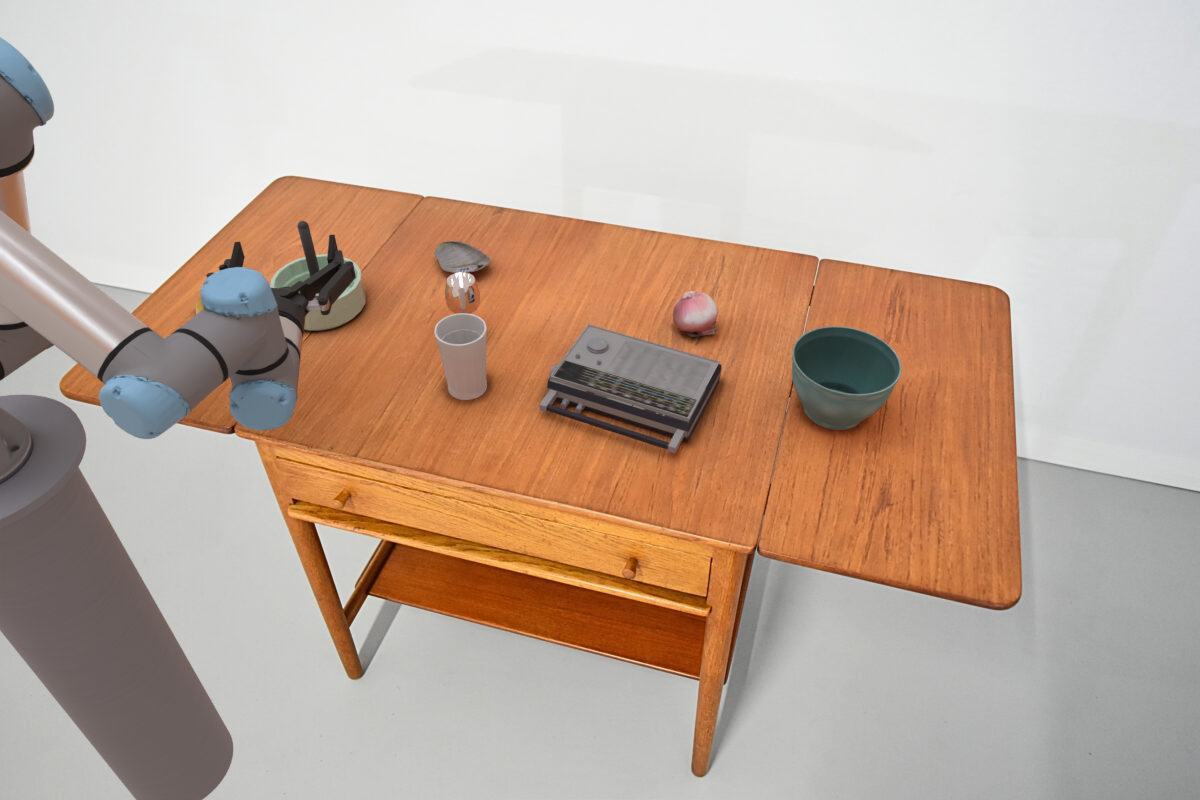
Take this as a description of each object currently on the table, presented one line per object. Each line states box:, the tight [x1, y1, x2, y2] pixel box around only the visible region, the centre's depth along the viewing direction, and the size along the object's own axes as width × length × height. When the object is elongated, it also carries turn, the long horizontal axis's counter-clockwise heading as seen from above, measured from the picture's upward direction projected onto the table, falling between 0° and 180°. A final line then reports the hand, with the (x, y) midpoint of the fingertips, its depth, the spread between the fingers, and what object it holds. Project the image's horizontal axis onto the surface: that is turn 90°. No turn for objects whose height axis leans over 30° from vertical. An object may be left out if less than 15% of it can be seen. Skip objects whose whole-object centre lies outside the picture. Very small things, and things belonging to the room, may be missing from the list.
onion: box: [672, 290, 719, 338], centre depth 155 cm, size 8×8×7 cm
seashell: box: [433, 240, 492, 274], centre depth 168 cm, size 12×8×5 cm
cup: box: [433, 313, 488, 401], centre depth 142 cm, size 8×8×12 cm
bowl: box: [269, 253, 367, 332], centre depth 159 cm, size 15×15×6 cm
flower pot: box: [791, 325, 902, 431], centre depth 139 cm, size 16×16×11 cm
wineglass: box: [444, 272, 481, 314], centre depth 151 cm, size 6×6×12 cm
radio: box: [538, 324, 722, 454], centre depth 143 cm, size 24×5×20 cm
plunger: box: [297, 220, 319, 300], centre depth 155 cm, size 6×6×17 cm
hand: (287, 245), depth 134 cm, fingers open, 13 cm apart
